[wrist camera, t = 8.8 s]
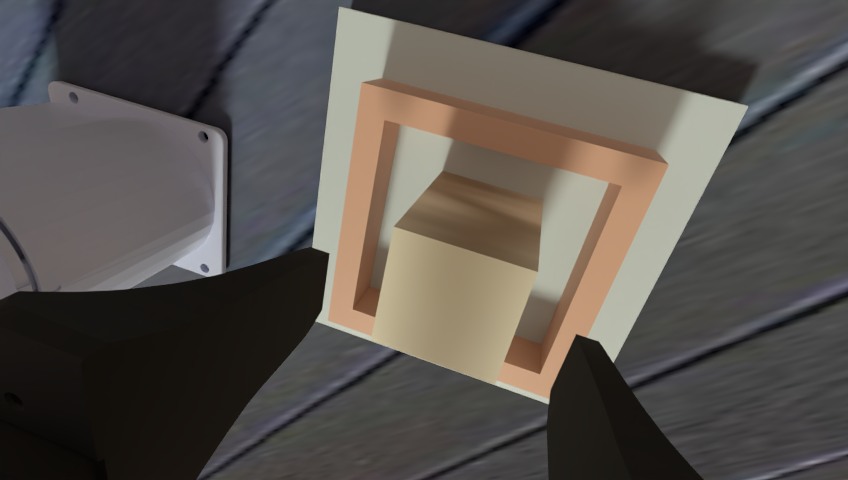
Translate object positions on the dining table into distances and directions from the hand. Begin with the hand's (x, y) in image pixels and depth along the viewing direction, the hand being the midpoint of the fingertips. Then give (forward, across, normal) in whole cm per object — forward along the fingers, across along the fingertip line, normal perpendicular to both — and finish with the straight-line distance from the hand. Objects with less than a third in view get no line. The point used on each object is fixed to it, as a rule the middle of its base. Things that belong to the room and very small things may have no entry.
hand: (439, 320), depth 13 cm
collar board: (+7, 0, 0) cm, 7 cm away
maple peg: (+6, 0, 0) cm, 6 cm away
